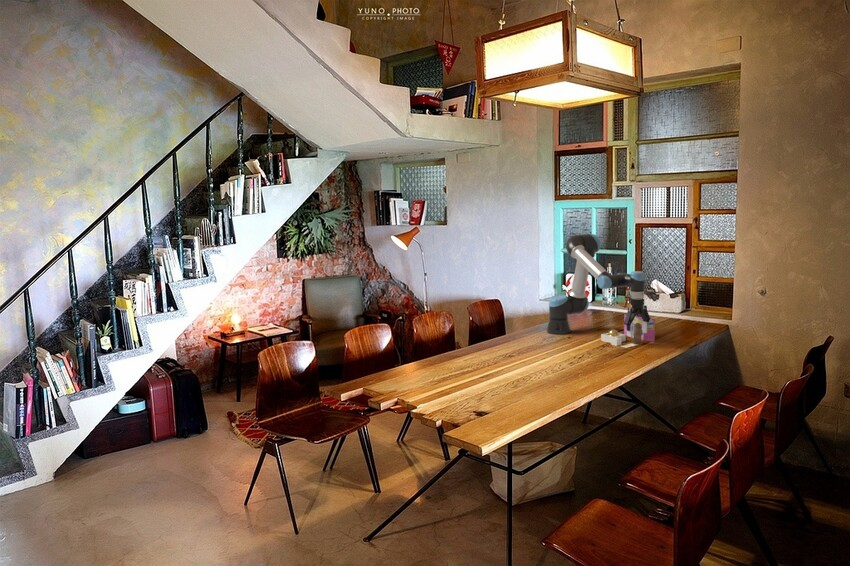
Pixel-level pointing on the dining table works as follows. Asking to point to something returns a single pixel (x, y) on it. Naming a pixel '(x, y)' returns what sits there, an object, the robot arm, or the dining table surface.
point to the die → (616, 341)
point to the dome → (613, 333)
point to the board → (629, 345)
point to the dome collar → (608, 338)
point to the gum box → (638, 319)
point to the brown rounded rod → (637, 333)
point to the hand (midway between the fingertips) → (637, 334)
